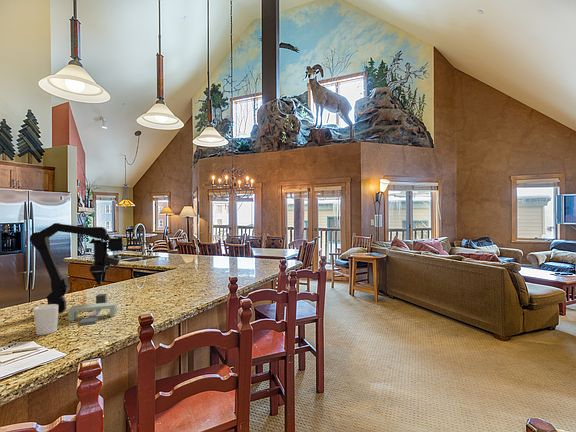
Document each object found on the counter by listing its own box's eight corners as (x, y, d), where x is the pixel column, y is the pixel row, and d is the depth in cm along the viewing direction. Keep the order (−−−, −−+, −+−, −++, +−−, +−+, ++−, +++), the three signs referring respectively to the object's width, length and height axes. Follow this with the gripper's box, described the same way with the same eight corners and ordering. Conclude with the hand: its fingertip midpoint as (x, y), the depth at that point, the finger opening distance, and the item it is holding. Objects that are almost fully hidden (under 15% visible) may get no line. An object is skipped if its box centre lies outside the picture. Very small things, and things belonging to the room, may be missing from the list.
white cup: (53, 327, 135) (52, 303, 135) (62, 330, 131) (62, 305, 131) (30, 333, 129) (29, 308, 129) (39, 337, 125) (39, 310, 125)
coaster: (79, 326, 138) (79, 322, 138) (82, 322, 143) (82, 318, 143) (95, 324, 140) (95, 320, 140) (98, 320, 145) (98, 316, 145)
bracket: (68, 320, 144) (68, 309, 144) (72, 316, 149) (72, 305, 149) (114, 316, 149) (114, 305, 149) (116, 312, 155) (116, 301, 155)
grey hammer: (87, 318, 147) (87, 305, 147) (98, 306, 167) (97, 294, 167) (97, 317, 148) (97, 304, 148) (106, 305, 168) (106, 293, 168)
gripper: (115, 253, 159) (116, 285, 159) (121, 249, 177) (121, 278, 177) (88, 254, 155) (89, 287, 156) (97, 250, 173) (98, 280, 173)
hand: (101, 283), depth 165 cm, fingers open, 9 cm apart
